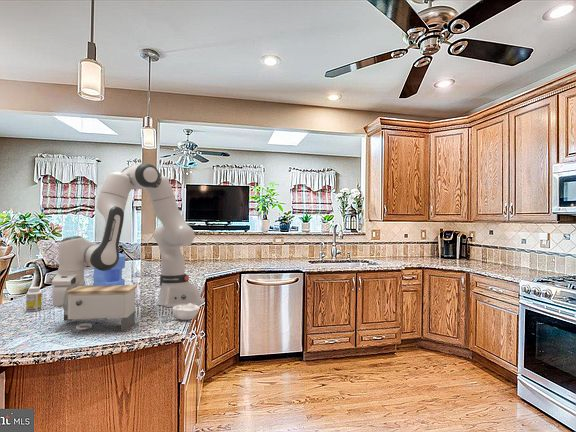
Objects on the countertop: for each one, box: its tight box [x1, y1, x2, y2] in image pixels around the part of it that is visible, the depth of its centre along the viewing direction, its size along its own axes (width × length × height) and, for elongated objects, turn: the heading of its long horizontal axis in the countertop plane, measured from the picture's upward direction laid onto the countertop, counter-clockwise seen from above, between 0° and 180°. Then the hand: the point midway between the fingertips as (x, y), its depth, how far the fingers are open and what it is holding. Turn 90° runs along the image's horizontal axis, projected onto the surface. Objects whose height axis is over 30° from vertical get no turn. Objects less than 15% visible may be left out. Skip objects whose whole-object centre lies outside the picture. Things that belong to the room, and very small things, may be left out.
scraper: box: [63, 313, 109, 322], centre depth 137 cm, size 16×3×7 cm, turn 99°
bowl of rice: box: [172, 303, 201, 321], centre depth 143 cm, size 10×12×7 cm
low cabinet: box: [66, 284, 138, 332], centre depth 129 cm, size 21×12×15 cm, turn 99°
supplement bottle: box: [25, 286, 43, 313], centre depth 154 cm, size 6×6×10 cm
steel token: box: [75, 322, 93, 332], centre depth 129 cm, size 5×5×2 cm
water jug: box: [92, 252, 126, 286], centre depth 192 cm, size 16×16×28 cm
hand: (70, 312), depth 136 cm, fingers closed on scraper, 3 cm apart
